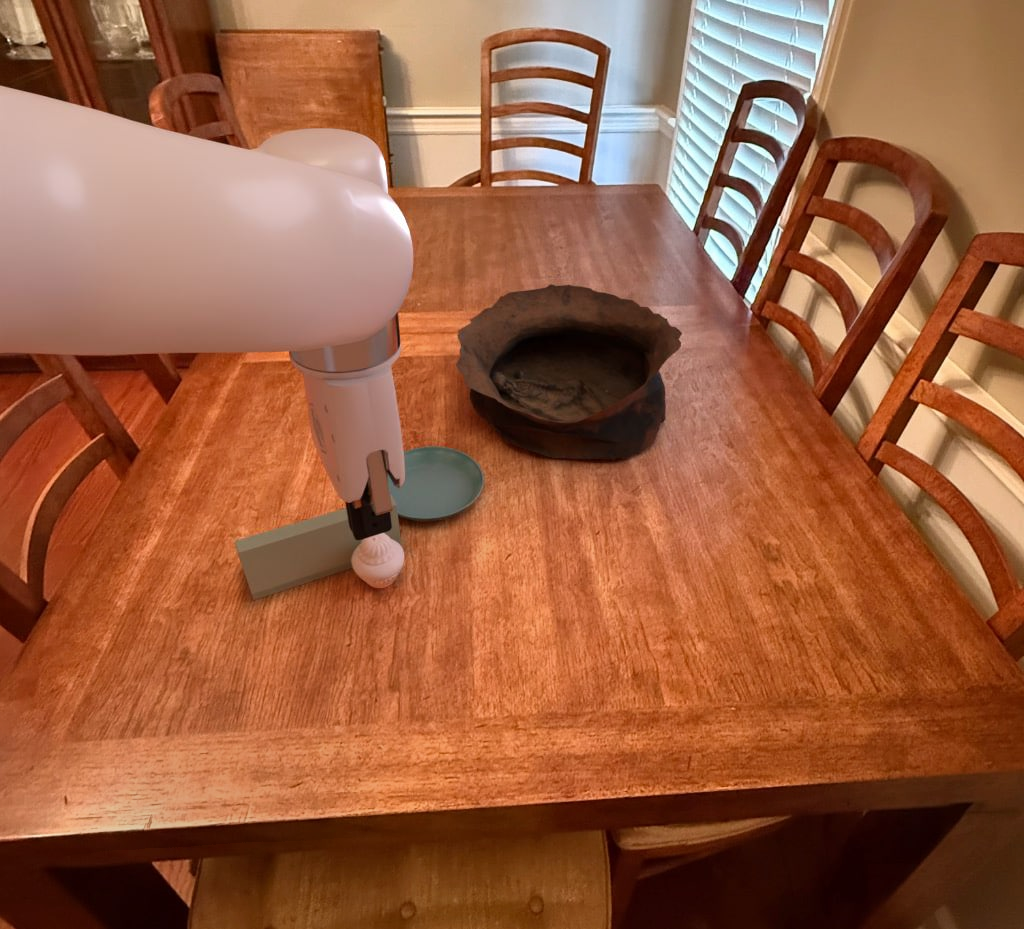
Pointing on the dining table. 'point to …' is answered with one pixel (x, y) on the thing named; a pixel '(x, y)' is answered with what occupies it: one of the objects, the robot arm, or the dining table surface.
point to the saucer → (436, 483)
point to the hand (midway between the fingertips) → (371, 529)
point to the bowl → (569, 371)
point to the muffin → (378, 560)
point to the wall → (301, 552)
